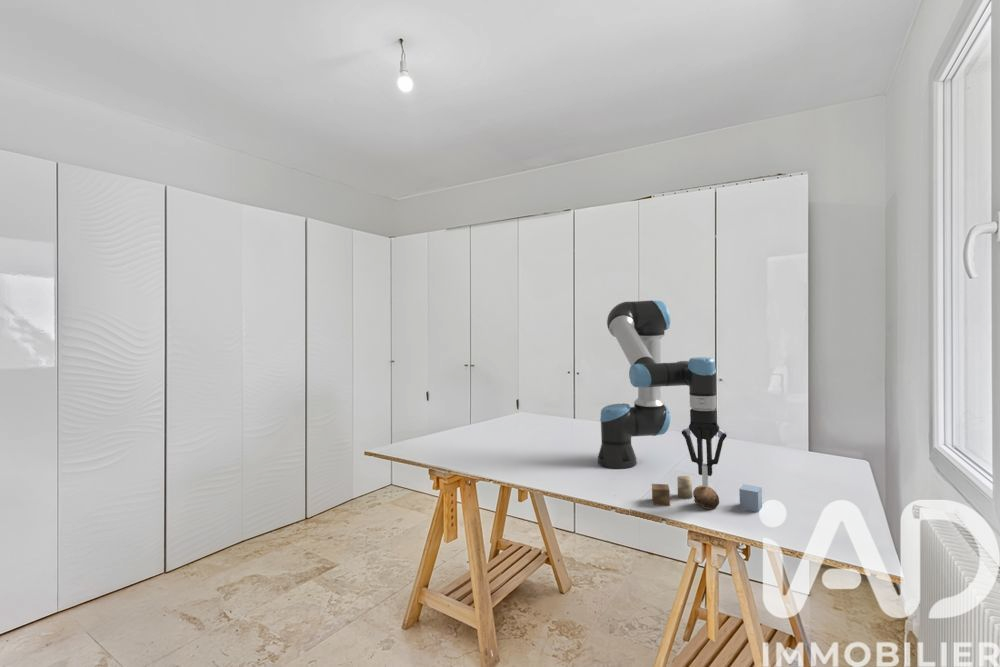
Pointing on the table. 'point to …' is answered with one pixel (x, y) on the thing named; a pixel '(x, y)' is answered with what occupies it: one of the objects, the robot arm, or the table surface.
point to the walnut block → (661, 494)
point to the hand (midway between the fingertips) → (705, 485)
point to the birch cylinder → (684, 487)
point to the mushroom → (706, 497)
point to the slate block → (750, 498)
